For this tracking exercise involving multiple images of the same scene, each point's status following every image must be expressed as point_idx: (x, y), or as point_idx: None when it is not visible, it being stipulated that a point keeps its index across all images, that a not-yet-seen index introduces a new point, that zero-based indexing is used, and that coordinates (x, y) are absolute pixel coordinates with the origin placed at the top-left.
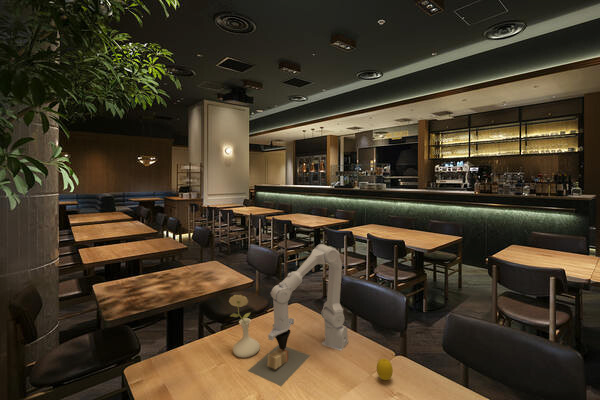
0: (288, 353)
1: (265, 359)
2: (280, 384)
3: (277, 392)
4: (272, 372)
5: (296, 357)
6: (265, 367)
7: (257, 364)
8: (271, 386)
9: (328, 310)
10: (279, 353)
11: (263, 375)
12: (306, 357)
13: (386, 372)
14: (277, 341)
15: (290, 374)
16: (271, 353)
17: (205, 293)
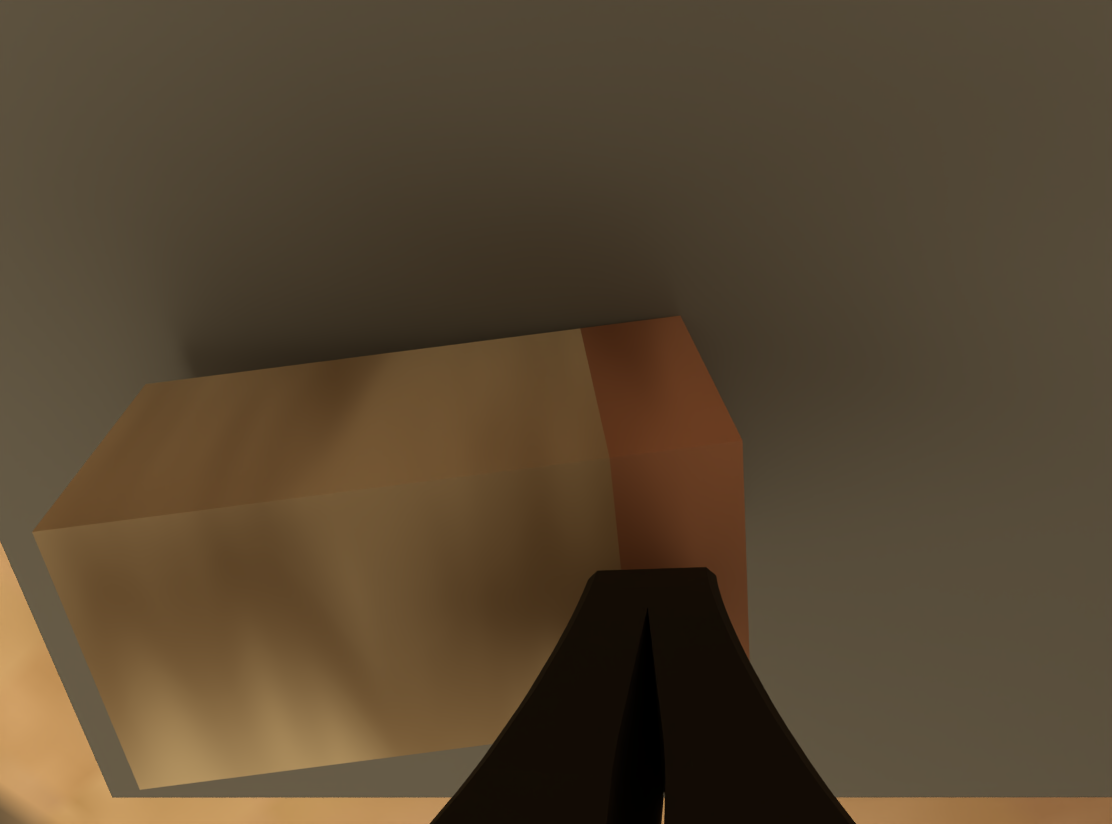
0: (960, 384)
1: (375, 29)
2: (128, 771)
3: (25, 785)
4: None
5: (907, 621)
6: (176, 276)
7: (83, 2)
8: (15, 658)
9: None
10: (422, 668)
11: (3, 418)
12: (1015, 770)
13: None
14: (485, 756)
15: (408, 776)
16: (212, 522)
17: None
